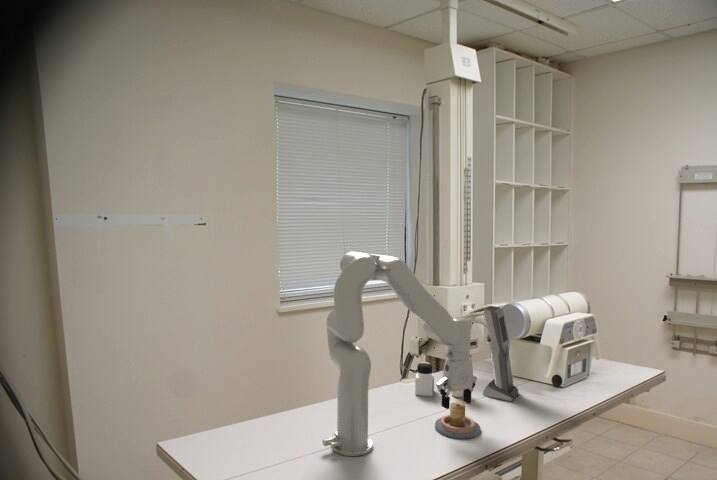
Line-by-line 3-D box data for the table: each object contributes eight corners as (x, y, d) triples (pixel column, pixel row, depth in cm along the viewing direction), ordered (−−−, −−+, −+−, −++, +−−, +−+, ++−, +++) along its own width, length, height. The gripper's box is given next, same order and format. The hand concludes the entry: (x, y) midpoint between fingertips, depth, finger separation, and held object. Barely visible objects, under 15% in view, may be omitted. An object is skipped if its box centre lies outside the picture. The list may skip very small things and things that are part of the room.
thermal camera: (488, 386, 194) (489, 305, 193) (519, 392, 188) (521, 308, 186) (480, 395, 184) (481, 309, 183) (512, 402, 178) (514, 313, 176)
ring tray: (456, 443, 144) (456, 435, 144) (425, 424, 157) (425, 417, 157) (489, 432, 152) (490, 425, 152) (458, 415, 165) (458, 408, 165)
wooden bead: (456, 430, 151) (457, 409, 151) (446, 424, 155) (447, 404, 155) (468, 427, 154) (468, 406, 153) (457, 421, 158) (458, 401, 158)
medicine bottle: (433, 396, 183) (433, 367, 182) (415, 395, 184) (415, 365, 184) (433, 390, 190) (434, 361, 189) (416, 388, 191) (416, 360, 190)
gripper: (446, 360, 146) (444, 413, 146) (485, 354, 155) (483, 404, 155) (431, 354, 152) (429, 405, 153) (469, 349, 161) (467, 396, 162)
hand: (456, 404), depth 154 cm, fingers open, 9 cm apart
